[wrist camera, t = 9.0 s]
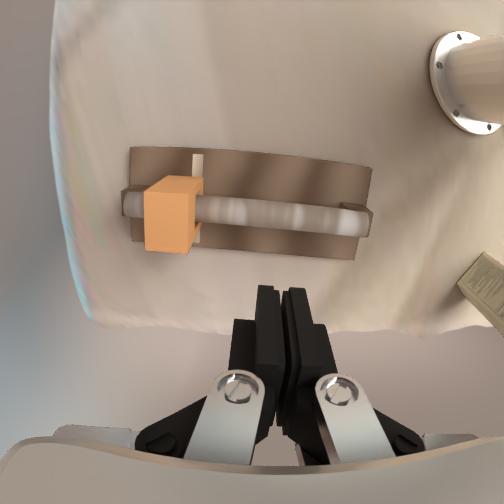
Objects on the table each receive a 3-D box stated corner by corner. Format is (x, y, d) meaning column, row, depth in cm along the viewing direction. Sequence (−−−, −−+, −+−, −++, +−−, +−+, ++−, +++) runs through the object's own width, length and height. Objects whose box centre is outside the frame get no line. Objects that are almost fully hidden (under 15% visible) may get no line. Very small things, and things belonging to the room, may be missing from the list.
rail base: (368, 167, 29) (388, 176, 25) (351, 256, 33) (365, 279, 29) (134, 146, 29) (112, 152, 24) (135, 237, 33) (117, 257, 28)
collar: (203, 177, 29) (188, 193, 22) (201, 225, 30) (187, 254, 24) (168, 175, 28) (143, 191, 22) (167, 222, 30) (145, 250, 24)
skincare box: (466, 298, 36) (512, 351, 25) (455, 282, 35) (505, 335, 24) (494, 267, 34) (546, 312, 23) (485, 249, 33) (541, 293, 22)
